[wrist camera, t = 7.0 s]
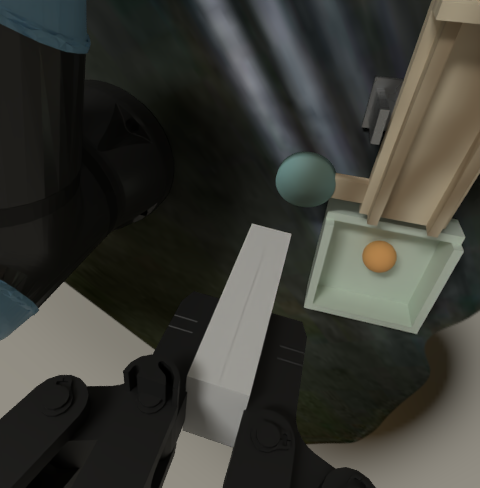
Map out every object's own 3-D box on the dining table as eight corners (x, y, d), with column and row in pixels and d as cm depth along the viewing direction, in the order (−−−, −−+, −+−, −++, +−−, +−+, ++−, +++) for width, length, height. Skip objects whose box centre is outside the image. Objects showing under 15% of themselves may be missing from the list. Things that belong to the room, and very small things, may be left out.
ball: (360, 245, 38) (357, 273, 37) (368, 232, 35) (364, 261, 34) (392, 251, 38) (389, 280, 36) (402, 238, 35) (400, 269, 34)
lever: (275, 194, 33) (268, 215, 31) (301, -25, 21) (293, -13, 19) (441, 225, 31) (444, 250, 29) (577, -1, 19) (600, 16, 17)
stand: (361, 125, 31) (362, 153, 26) (375, 75, 29) (379, 96, 24) (480, 142, 30) (506, 176, 25) (505, 92, 27) (539, 117, 22)
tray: (307, 283, 43) (303, 307, 40) (329, 196, 36) (326, 217, 33) (412, 307, 41) (416, 333, 38) (457, 219, 34) (468, 244, 31)
